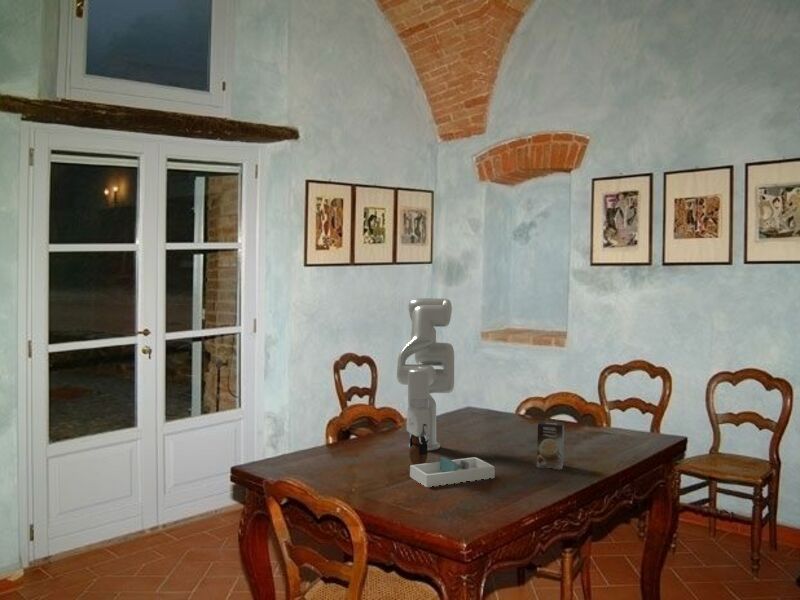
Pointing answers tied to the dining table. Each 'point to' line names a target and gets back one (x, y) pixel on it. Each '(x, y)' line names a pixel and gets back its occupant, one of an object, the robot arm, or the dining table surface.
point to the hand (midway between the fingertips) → (418, 451)
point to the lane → (451, 472)
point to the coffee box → (550, 444)
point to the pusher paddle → (452, 465)
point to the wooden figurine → (416, 452)
